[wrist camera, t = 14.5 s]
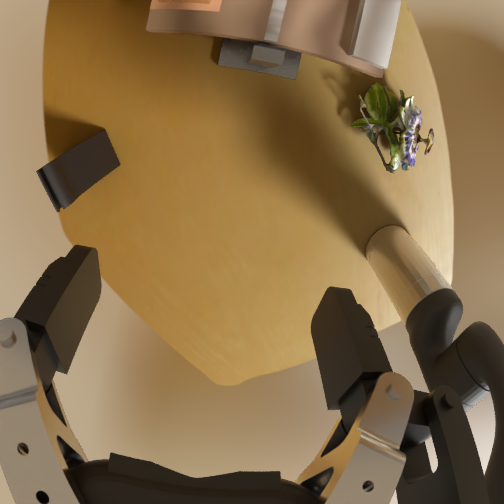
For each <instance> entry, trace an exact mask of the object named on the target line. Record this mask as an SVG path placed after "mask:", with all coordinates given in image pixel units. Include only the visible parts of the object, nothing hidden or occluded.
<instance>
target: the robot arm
mask: <svg viewBox="0 0 504 504" xmlns="http://www.w3.org/2000/svg"><path fill="white" fill-rule="evenodd" d="M366 258H367V260H368V262H369V263H370V265H371V267H372V268H373V270H374V272H375V274H376V275H377V277H378V279H379V280H380V282H381V284H382V285H383V287H384V289H385V291H386V292H387V294H388V296H389V298H390V300H391V301H392V303H393V305H394V307H395V309H396V310H397V312H398V314H399V316H400V318H401V320H402V321H403V323H404V325H405V327H406V329H407V331H408V333H409V337H410V343H411V347H412V349H413V351H414V354H415V356H416V358H417V361H418V363H419V365H420V368H421V371H422V374H423V377H424V379H425V382H426V384H427V387H428V389H429V392H430V393H426V392H421V391H417V390H413V388H412V386H411V384H410V382H409V381H408V380H407V379H406V378H405V377H404V376H402V375H400V374H398V373H395V372H393V371H392V369H391V366H390V363H389V361H388V358H387V355H386V353H385V350H384V348H383V346H382V343H381V341H380V338H378V334H377V331H376V329H374V327H375V326H374V324H373V322H372V319H371V317H370V315H369V314H368V313H367V311H366V310H365V309H364V308H363V307H362V306H361V304H357V302H356V300H355V298H354V295H353V293H352V291H351V290H350V289H346V288H338V287H329V288H327V290H326V292H325V294H324V296H323V298H322V300H321V302H320V304H319V306H318V308H317V310H316V312H315V314H314V316H313V318H312V322H311V334H312V338H313V343H314V347H315V352H316V356H317V360H318V365H319V370H320V374H321V378H322V383H323V388H324V393H325V398H326V402H327V407H328V410H339V409H340V411H341V416H340V417H339V418H338V420H337V421H336V423H335V425H334V427H333V429H332V430H331V432H330V434H329V436H328V437H327V439H326V441H325V443H324V444H323V446H322V448H321V449H320V451H319V452H318V454H317V456H316V457H315V459H314V460H313V461H312V462H311V463H310V465H309V466H307V468H306V469H305V470H304V471H303V472H302V473H301V474H300V476H299V477H298V478H297V480H296V481H295V483H294V482H292V481H288V480H285V479H281V476H280V471H270V472H243V471H242V472H241V471H239V472H234V473H228V474H223V475H216V476H210V477H203V478H193V477H189V476H186V475H183V474H180V473H178V472H175V471H173V470H170V469H168V468H165V467H163V466H160V465H158V464H155V463H153V462H150V461H145V460H140V459H135V458H131V457H126V456H122V455H118V454H115V453H110V458H109V459H102V460H93V461H88V459H87V457H86V455H85V453H84V451H83V449H82V447H81V445H80V443H79V442H78V440H77V439H76V437H75V435H74V434H73V432H72V430H71V427H70V425H69V423H68V420H67V418H66V415H65V412H64V409H63V407H62V404H61V401H60V398H59V396H58V392H57V389H56V386H55V383H54V380H53V377H54V374H55V372H56V371H58V372H61V373H64V374H67V373H68V370H69V367H70V365H71V362H72V360H73V357H74V355H75V352H76V350H77V347H78V345H79V343H80V340H81V338H82V336H83V333H84V331H85V329H86V327H87V324H88V322H89V320H90V318H91V316H92V313H93V311H94V309H95V307H96V305H97V303H98V301H99V298H100V294H101V277H100V269H99V260H98V252H97V250H96V248H92V247H86V246H81V245H75V246H74V247H73V248H72V249H71V250H70V252H69V253H68V255H67V256H66V257H60V258H58V259H57V260H55V261H54V262H53V263H51V264H50V265H49V266H48V268H47V269H46V270H45V272H44V273H43V274H42V277H40V279H39V280H38V281H37V283H36V286H34V287H33V288H32V290H31V291H30V293H29V294H28V296H27V297H26V299H25V300H24V302H23V303H22V305H21V307H20V308H19V310H18V312H17V313H16V315H15V316H14V318H4V319H2V320H0V464H1V467H2V470H3V473H4V476H5V478H6V481H7V484H8V486H9V488H10V491H11V494H12V496H13V499H14V501H15V503H16V504H389V503H390V501H391V498H392V496H393V494H394V491H395V489H396V493H397V500H398V504H504V345H503V343H502V341H501V340H500V338H499V337H498V335H497V334H496V333H495V331H494V330H493V329H492V328H491V327H490V326H489V325H487V324H486V323H484V322H480V321H479V322H474V323H473V324H471V325H470V326H469V327H468V328H467V329H465V330H464V331H463V332H462V333H461V335H460V336H459V337H458V338H457V339H456V340H455V341H454V342H453V343H452V341H453V337H454V334H455V331H456V329H457V326H458V324H459V322H460V320H461V317H462V313H463V305H462V302H461V300H460V299H459V297H458V296H457V294H456V293H455V292H454V290H453V289H452V288H451V286H450V285H449V283H448V282H447V281H446V280H445V278H444V277H443V276H442V274H441V273H440V272H439V271H438V269H437V268H436V266H435V264H434V263H433V262H432V260H431V259H430V258H429V257H428V256H427V254H426V253H425V252H424V251H423V250H422V248H421V247H420V246H419V245H418V244H417V242H416V241H415V240H414V239H413V238H412V237H411V236H410V235H409V234H408V233H407V232H406V231H405V230H404V229H403V228H402V227H400V226H396V225H390V226H386V227H384V228H382V229H380V230H378V231H377V232H376V233H375V234H374V235H373V236H372V237H371V238H370V240H369V242H368V244H367V247H366ZM490 393H491V396H492V400H493V404H494V410H495V418H496V428H495V439H494V444H493V448H492V453H491V456H490V460H489V463H488V466H487V469H486V472H485V475H484V474H483V470H482V466H481V462H480V458H479V455H478V451H477V448H476V444H475V441H474V438H473V434H472V431H471V428H470V425H469V422H468V419H467V416H466V413H465V412H467V411H468V410H469V409H471V408H472V407H473V406H475V405H476V404H477V403H479V402H480V401H481V400H482V399H484V398H485V397H486V396H487V395H488V394H490ZM431 436H432V440H433V443H434V447H435V451H436V455H437V459H438V467H437V470H436V471H435V472H434V473H433V472H432V470H431V466H430V461H429V457H428V453H427V449H426V445H425V440H427V439H428V438H430V437H431Z"/></svg>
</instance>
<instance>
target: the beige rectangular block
mask: <svg viewBox="0 0 504 504" xmlns="http://www.w3.org/2000/svg"><path fill="white" fill-rule="evenodd" d="M158 1H159V2H180V3H200V4H210V1H211V0H158Z"/></svg>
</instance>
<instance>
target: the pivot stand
mask: <svg viewBox="0 0 504 504" xmlns="http://www.w3.org/2000/svg"><path fill="white" fill-rule="evenodd" d="M301 54H302V53H301V52H297V51H293V50H289V49H285V48H280V47H276V46H271V45H266V44H261V43H256V42H250V41H245V40H238V39H231V38H223V43H222V48H221V52H220V57H219V62H218V66H225V67H232V68H238V69H244V70H250V71H256V72H261V73H266V74H271V75H276V76H280V77H285V78H289V79H293V80H295V79H296V75H297V71H298V67H299V62H300V58H301Z"/></svg>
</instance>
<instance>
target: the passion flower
mask: <svg viewBox="0 0 504 504" xmlns="http://www.w3.org/2000/svg"><path fill="white" fill-rule="evenodd" d="M400 94H401V97H400V98H401V102H400V104H401V107H400V108H399V110H398V107H399V102H398V101H397V99H396V97H395V96H394V94H393V93H392V92H390V91H388V90H387V87H386V85H384V86H381V85H380V84H379V83H378V82H376V83H375V84H374V85H372V86H371V87H370V89H369V90H368V91H367V93H366V95H365V98H364V101H365V103H364V101H363V100H362V98H361V96H360V95H358V99H359V100H360V103H361V107H366V109H367V111H368V113H369V116H370V119H369V118H366V117H365V115H364V113H363V112H362V110H361V107H360V111H361V113H362V115H363V117H364V118H361V119H359V120H356V121H355V122H354V123H353V124H352V125H351V127H358V128H360V130H361V131H362V132H363V133H364V134H366V135H367V136H368V138H369V139H370V141H371V142H372V143H373V144H374V145H375V147H376V149H377V151H378V153H379V155H380V157H381V159H382V161H383V164H384V166H385V168H386V170H387V171H390V172H391V173H394V171H396V170H398V169H399V168H400V164H401V163H402V169H403V170H405V171H406V170H409V166H410V165H411V167H412V165H413V166H415V165H414V163H415V156H416V151H417V150H418V145H417V143H418V142H424V143H425V144H426V146H427V147H426V150H425V155H428V154H429V151H430V150H431V147H432V145H433V144H434V143H433V137H434V133H433V129H430V131H429V135H428V138H427V139H422V138H421V137H420V135H419V133H418V132H419V130H420V127H421V124H422V118H420V115H421V111H420V109H418V108H416V106H415V107H413V98H414V96H411V97H409V98H408V97H407V99H406V98H405V95H404V92H403V91H402V90H400ZM397 110H398V116H397V118H396V119H395V120H394V121H393V122H392V123H390V121H391V119H392V116H394V114H395V113H396V112H397ZM375 126H376V127H377V128H378V131H377V132H376V133H374V132H373V130H372V128H373V127H375ZM361 127H367V128H369V129H366V130H364V129H362V128H361ZM395 127H399V128H401V130H400V132H393V131H392V130H393V129H394V128H395ZM381 130H384V131H385V132H386V133H380V131H381ZM382 134H386V136H387V138H388V140H389V146H390V155H391V161H390V163H389V164H386V162H385V160H384V158H383V155H382V154H381V151H380V149H379V147H378V145H377V137H378V136H379V135H382ZM395 134H400V137H399V142H398V140H397V138H396V136H395ZM394 174H395V173H394Z"/></svg>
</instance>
